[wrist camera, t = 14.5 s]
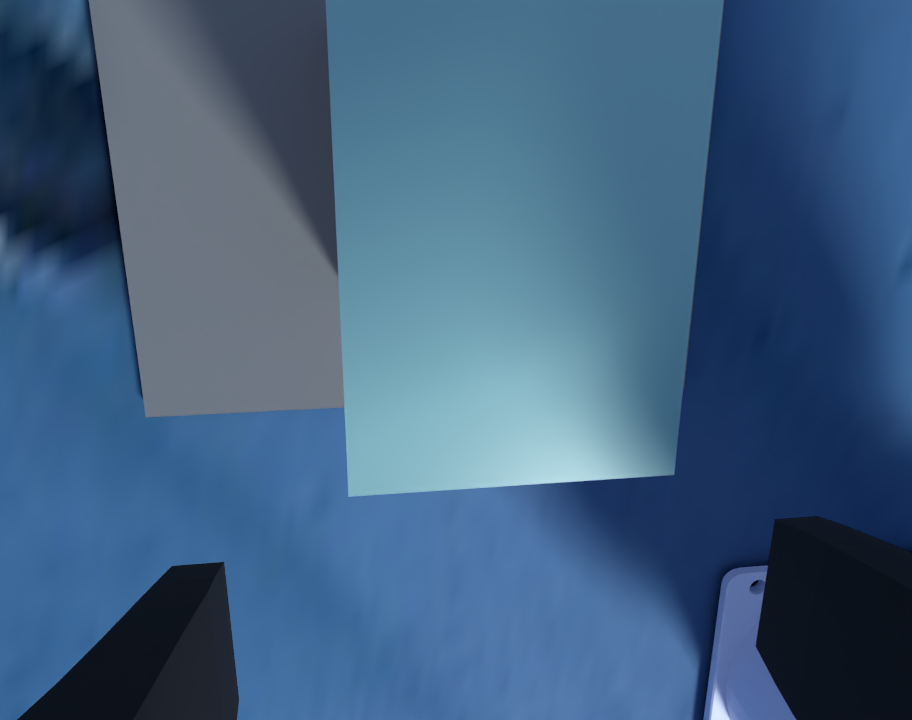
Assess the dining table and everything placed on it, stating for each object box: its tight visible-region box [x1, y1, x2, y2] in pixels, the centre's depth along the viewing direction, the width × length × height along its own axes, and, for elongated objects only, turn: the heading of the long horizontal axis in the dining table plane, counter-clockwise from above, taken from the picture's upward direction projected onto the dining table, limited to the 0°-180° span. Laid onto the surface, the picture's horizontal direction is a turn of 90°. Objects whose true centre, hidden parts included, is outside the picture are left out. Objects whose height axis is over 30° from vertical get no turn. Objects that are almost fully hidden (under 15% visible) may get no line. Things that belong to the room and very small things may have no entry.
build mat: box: [89, 0, 724, 417], centre depth 18 cm, size 14×12×1 cm
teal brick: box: [326, 0, 724, 497], centre depth 10 cm, size 4×6×5 cm, turn 0°
